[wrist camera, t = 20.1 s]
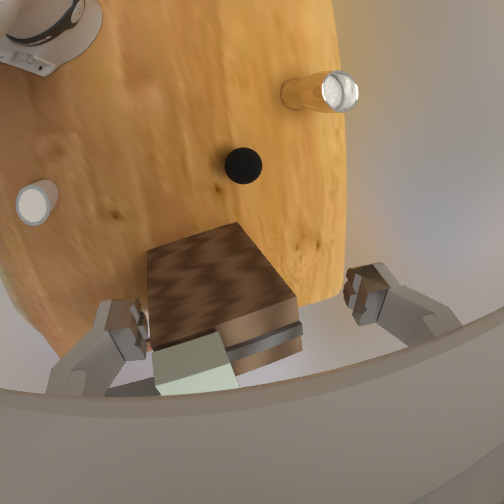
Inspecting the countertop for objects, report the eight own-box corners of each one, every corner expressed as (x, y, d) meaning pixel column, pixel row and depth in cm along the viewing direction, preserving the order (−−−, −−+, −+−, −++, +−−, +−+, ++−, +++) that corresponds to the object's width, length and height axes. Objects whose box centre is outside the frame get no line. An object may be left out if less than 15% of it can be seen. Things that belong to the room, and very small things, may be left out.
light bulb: (235, 181, 53) (253, 194, 45) (209, 164, 50) (222, 175, 42) (253, 155, 52) (274, 163, 44) (228, 137, 49) (244, 141, 41)
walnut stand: (164, 292, 58) (181, 398, 36) (147, 250, 53) (151, 350, 31) (247, 265, 62) (304, 354, 39) (237, 221, 57) (299, 299, 34)
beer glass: (306, 116, 52) (353, 120, 39) (274, 105, 49) (315, 104, 36) (315, 84, 49) (364, 80, 37) (283, 72, 47) (327, 61, 34)
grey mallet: (74, 423, 32) (73, 450, 28) (33, 382, 27) (27, 412, 23) (237, 382, 37) (249, 410, 33) (218, 331, 32) (229, 363, 28)
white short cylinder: (27, 180, 40) (11, 190, 34) (58, 172, 42) (45, 180, 36) (34, 216, 43) (20, 229, 37) (65, 209, 45) (54, 222, 39)
